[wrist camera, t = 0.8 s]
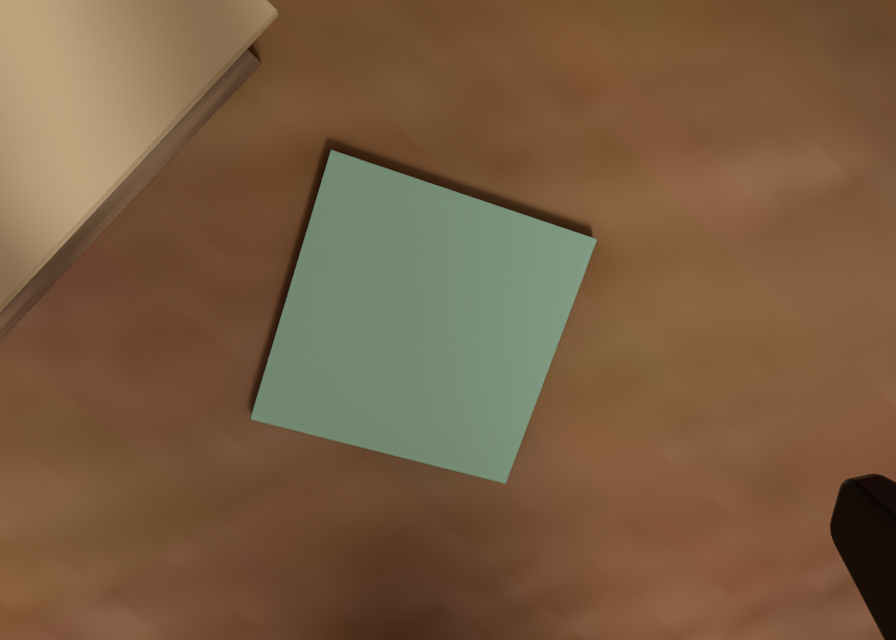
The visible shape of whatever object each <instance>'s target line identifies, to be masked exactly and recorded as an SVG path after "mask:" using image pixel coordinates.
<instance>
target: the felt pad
mask: <svg viewBox="0 0 896 640" xmlns="http://www.w3.org/2000/svg"><path fill="white" fill-rule="evenodd" d="M596 241H597V239H595V238H592V237H589V236H586V235H583V234H580V233H577V232H575V231H572V230H569V229H566V228H563V227H560V226H557V225H554V224H551V223H548V222H545V221H542V220H539V219H536V218H533V217H530V216H527V215H524V214H521V213H518V212H515V211H512V210H509V209H506V208H503V207H500V206H497V205H494V204H491V203H488V202H485V201H482V200H479V199H476V198H474V197H471V196H468V195H465V194H462V193H459V192H456V191H453V190H450V189H447V188H444V187H441V186H438V185H435V184H432V183H429V182H426V181H423V180H420V179H417V178H414V177H411V176H408V175H405V174H402V173H399V172H396V171H393V170H390V169H387V168H384V167H381V166H378V165H375V164H372V163H370V162H367V161H364V160H361V159H358V158H355V157H352V156H349V155H346V154H343V153H340V152H337V151H334V150H331V151H330V154H329V158H328V161H327V164H326V168H325V171H324V174H323V178H322V181H321V185H320V188H319V191H318V195H317V198H316V201H315V205H314V208H313V211H312V215H311V218H310V221H309V225H308V228H307V231H306V235H305V238H304V241H303V245H302V248H301V251H300V255H299V258H298V261H297V265H296V268H295V271H294V275H293V278H292V281H291V285H290V288H289V291H288V295H287V298H286V301H285V305H284V308H283V311H282V315H281V318H280V321H279V325H278V328H277V331H276V335H275V338H274V341H273V345H272V348H271V351H270V355H269V358H268V361H267V365H266V368H265V371H264V375H263V378H262V381H261V385H260V388H259V391H258V395H257V398H256V401H255V405H254V408H253V411H252V415H251V418H250V419H251V420H255V421H259V422H263V423H267V424H271V425H275V426H279V427H283V428H287V429H291V430H295V431H299V432H303V433H307V434H311V435H315V436H318V437H322V438H326V439H330V440H334V441H338V442H342V443H346V444H350V445H354V446H358V447H362V448H366V449H370V450H374V451H378V452H382V453H386V454H390V455H394V456H398V457H402V458H406V459H410V460H414V461H418V462H422V463H426V464H430V465H433V466H437V467H441V468H445V469H449V470H453V471H457V472H461V473H465V474H469V475H473V476H477V477H481V478H485V479H489V480H493V481H497V482H501V483H505V484H506V481H507V479H508V476H509V473H510V471H511V468H512V465H513V463H514V460H515V457H516V455H517V452H518V449H519V447H520V444H521V441H522V439H523V436H524V433H525V431H526V428H527V425H528V423H529V420H530V417H531V415H532V412H533V409H534V407H535V404H536V401H537V398H538V396H539V393H540V390H541V388H542V385H543V382H544V380H545V377H546V374H547V372H548V369H549V366H550V364H551V361H552V358H553V356H554V353H555V350H556V348H557V345H558V342H559V340H560V337H561V334H562V332H563V329H564V326H565V324H566V321H567V318H568V316H569V313H570V310H571V308H572V305H573V302H574V300H575V297H576V294H577V292H578V289H579V286H580V284H581V281H582V278H583V276H584V273H585V270H586V268H587V265H588V262H589V260H590V257H591V254H592V252H593V249H594V246H595V244H596Z"/></svg>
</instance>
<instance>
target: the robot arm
mask: <svg viewBox="0 0 896 640" xmlns="http://www.w3.org/2000/svg"><path fill="white" fill-rule="evenodd" d="M830 531H831V536H832V539H833V542H834V544H835V546H836V548H837V550H838V552H839V554H840V556H841V557H842V559H843V561H844V563H845V565H846V567H847V569H848V571H849V573H850V575H851V577H852V578H853V580H854V582H855V584H856V586H857V588H858V590H859V592H860V594H861V596H862V598H863V599H864V601H865V603H866V605H867V607H868V609H869V611H870V613H871V615H872V617H873V619H874V620H875V622H876V624H877V626H878V628H879V630H880V632H881V634H882V636H883V638H884V640H896V482H894V481H892V480H890V479H889V478H887V477H884V476H882V475H879V474H868V475H863V476H859V477H854V478H850V479H847V480H845V481H844V482H843V483H842V484H841V486H840V489H839V493H838V497H837V500H836V504H835V507H834V511H833V514H832V518H831V522H830Z"/></svg>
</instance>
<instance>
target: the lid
mask: <svg viewBox="0 0 896 640" xmlns="http://www.w3.org/2000/svg"><path fill="white" fill-rule="evenodd" d="M278 16H279V14H278V12H277V10H276V9H275V8H274V7H273V6H272V5H271V4H270V3H269V2H268V1H267V0H0V312H1V311H2V310H3V309H4V308H5V307H6V306H7V305H8V303H9V302H10V301H11V300H12V299H13V298H14V297H15V296H16V295H17V294H18V293H19V292H20V291H21V290H22V289H23V287H24V286H25V285H26V284H27V283H28V282H29V281H30V280H31V279H32V278H33V277H34V276H35V275H36V274H37V273H38V271H39V270H40V269H41V268H42V267H43V266H44V265H45V264H46V263H47V262H48V261H49V260H50V259H51V258H52V257H53V255H54V254H55V253H56V252H57V251H58V250H59V249H60V248H61V247H62V246H63V245H64V244H65V243H66V242H67V241H68V239H69V238H70V237H71V236H72V235H73V234H74V233H75V232H76V231H77V230H78V229H79V228H80V227H81V226H82V225H83V223H84V222H85V221H86V220H87V219H88V218H89V217H90V216H91V215H92V214H93V213H94V212H95V211H96V210H97V209H98V207H99V206H100V205H101V204H102V203H103V202H104V201H105V200H106V199H107V198H108V197H109V196H110V195H111V194H112V193H113V192H114V190H115V189H116V188H117V187H118V186H119V185H120V184H121V183H122V182H123V181H124V180H125V179H126V178H127V177H128V176H129V174H130V173H131V172H132V171H133V170H134V169H135V168H136V167H137V166H138V165H139V164H140V163H141V162H142V161H143V160H144V158H145V157H146V156H147V155H148V154H149V153H150V152H151V151H152V150H153V149H154V148H155V147H156V146H157V145H158V144H159V142H160V141H161V140H162V139H163V138H164V137H165V136H166V135H167V134H168V133H169V132H170V131H171V130H172V129H173V128H174V126H175V125H176V124H177V123H178V122H179V121H180V120H181V119H182V118H183V117H184V116H185V115H186V114H187V113H188V112H189V110H190V109H191V108H192V107H193V106H194V105H195V104H196V103H197V102H198V101H199V100H200V99H201V98H202V97H203V96H204V94H205V93H206V92H207V91H208V90H209V89H210V88H211V87H212V86H213V85H214V84H215V83H216V82H217V81H218V80H219V78H220V77H221V76H222V75H223V74H224V73H225V72H226V71H227V70H228V69H229V68H230V67H231V66H232V65H233V64H234V62H235V61H236V60H237V59H238V58H239V57H240V56H241V55H242V54H243V53H244V52H245V51H246V50H247V49H248V48H249V46H250V45H251V44H252V43H253V42H254V41H255V40H256V39H257V38H258V37H259V36H260V35H261V34H262V33H263V32H264V30H265V29H266V28H267V27H268V26H269V25H270V24H271V23H272V22H273V21H274V20H275V19H276V18H277V17H278Z"/></svg>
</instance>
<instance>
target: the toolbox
mask: <svg viewBox="0 0 896 640" xmlns="http://www.w3.org/2000/svg"><path fill="white" fill-rule="evenodd" d="M260 64H261V62H260V61H259V60H258V59H257V58H256V57H255V56H254V55H253V54H252V53H251V52H250V51H249V50H248V49H247V50H246V51H245V52H244V53H243V54H242V55H241V56H240V57H239V58H238V59H237V60H236V61H235V62H234V64H233V65H232V66H231V67H230V68H229V69H228V70H227V71H226V72H225V73H224V74H223V75H222V76H221V77H220V78H219V80H218V81H217V82H216V83H215V84H214V85H213V86H212V87H211V88H210V89H209V90H208V91H207V92H206V93H205V94H204V96H203V97H202V98H201V99H200V100H199V101H198V102H197V103H196V104H195V105H194V106H193V107H192V108H191V109H190V110H189V112H188V113H187V114H186V115H185V116H184V117H183V118H182V119H181V120H180V121H179V122H178V123H177V124H176V125H175V126H174V128H173V129H172V130H171V131H170V132H169V133H168V134H167V135H166V136H165V137H164V138H163V139H162V140H161V141H160V142H159V144H158V145H157V146H156V147H155V148H154V149H153V150H152V151H151V152H150V153H149V154H148V155H147V156H146V157H145V158H144V160H143V161H142V162H141V163H140V164H139V165H138V166H137V167H136V168H135V169H134V170H133V171H132V172H131V173H130V174H129V176H128V177H127V178H126V179H125V180H124V181H123V182H122V183H121V184H120V185H119V186H118V187H117V188H116V189H115V190H114V192H113V193H112V194H111V195H110V196H109V197H108V198H107V199H106V200H105V201H104V202H103V203H102V204H101V205H100V206H99V207H98V209H97V210H96V211H95V212H94V213H93V214H92V215H91V216H90V217H89V218H88V219H87V220H86V221H85V222H84V223H83V225H82V226H81V227H80V228H79V229H78V230H77V231H76V232H75V233H74V234H73V235H72V236H71V237H70V238H69V239H68V241H67V242H66V243H65V244H64V245H63V246H62V247H61V248H60V249H59V250H58V251H57V252H56V253H55V254H54V255H53V257H52V258H51V259H50V260H49V261H48V262H47V263H46V264H45V265H44V266H43V267H42V268H41V269H40V270H39V271H38V273H37V274H36V275H35V276H34V277H33V278H32V279H31V280H30V281H29V282H28V283H27V284H26V285H25V286H24V287H23V289H22V290H21V291H20V292H19V293H18V294H17V295H16V296H15V297H14V298H13V299H12V300H11V301H10V302H9V303H8V305H7V306H6V307H5V308H4V309H3V310H2V311H1V312H0V340H1V339H2V338H3V337H4V336H5V335H6V334H7V333H8V332H9V331H10V330H11V329H12V328H13V327H14V325H15V324H16V323H17V322H18V321H19V320H20V319H21V318H22V317H23V316H24V315H25V314H26V313H27V312H28V311H29V310H30V308H31V307H32V306H33V305H34V304H35V303H36V302H37V301H38V300H39V299H40V298H41V297H42V296H43V295H44V294H45V293H46V292H47V290H48V289H49V288H50V287H51V286H52V285H53V284H54V283H55V282H56V281H57V280H58V279H59V278H60V277H61V276H62V275H63V273H64V272H65V271H66V270H67V269H68V268H69V267H70V266H71V265H72V264H73V263H74V262H75V261H76V260H77V259H78V258H79V256H80V255H81V254H82V253H83V252H84V251H85V250H86V249H87V248H88V247H89V246H90V245H91V244H92V243H93V242H94V241H95V239H96V238H97V237H98V236H99V235H100V234H101V233H102V232H103V231H104V230H105V229H106V228H107V227H108V226H109V225H110V224H111V222H112V221H113V220H114V219H115V218H116V217H117V216H118V215H119V214H120V213H121V212H122V211H123V210H124V209H125V208H126V207H127V205H128V204H129V203H130V202H131V201H132V200H133V199H134V198H135V197H136V196H137V195H138V194H139V193H140V192H141V191H142V190H143V188H144V187H145V186H146V185H147V184H148V183H149V182H150V181H151V180H152V179H153V178H154V177H155V176H156V175H157V174H158V173H159V171H160V170H161V169H162V168H163V167H164V166H165V165H166V164H167V163H168V162H169V161H170V160H171V159H172V158H173V157H174V156H175V154H176V153H177V152H178V151H179V150H180V149H181V148H182V147H183V146H184V145H185V144H186V143H187V142H188V141H189V140H190V139H191V137H192V136H193V135H194V134H195V133H196V132H197V131H198V130H199V129H200V128H201V127H202V126H203V125H204V124H205V123H206V122H207V120H208V119H209V118H210V117H211V116H212V115H213V114H214V113H215V112H216V111H217V110H218V109H219V108H220V107H221V106H222V105H223V103H224V102H225V101H226V100H227V99H228V98H229V97H230V96H231V95H232V94H233V93H234V92H235V91H236V90H237V89H238V88H239V86H240V85H241V84H242V83H243V82H244V81H245V80H246V79H247V78H248V77H249V76H250V75H251V74H252V73H253V72H254V71H255V69H256V68H257V67H258V66H259V65H260Z"/></svg>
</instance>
